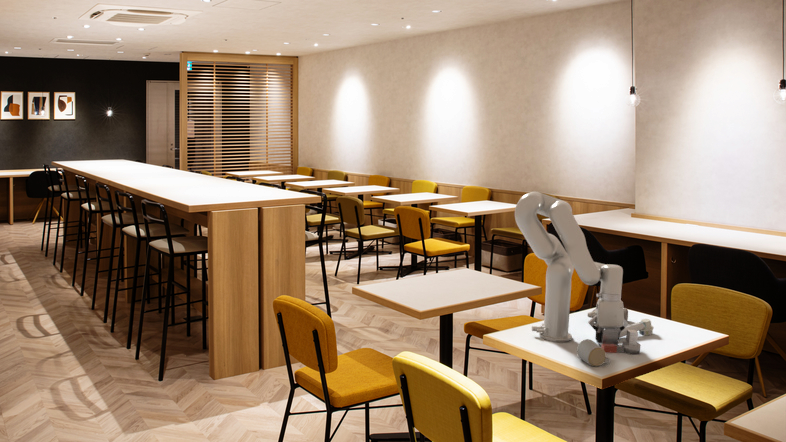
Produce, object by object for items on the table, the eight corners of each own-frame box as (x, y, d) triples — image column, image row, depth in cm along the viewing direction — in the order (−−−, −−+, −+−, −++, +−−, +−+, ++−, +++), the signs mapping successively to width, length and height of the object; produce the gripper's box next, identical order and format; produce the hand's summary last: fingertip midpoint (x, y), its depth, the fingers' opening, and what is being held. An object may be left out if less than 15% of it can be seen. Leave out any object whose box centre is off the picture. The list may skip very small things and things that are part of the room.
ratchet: (605, 354, 223) (607, 333, 222) (599, 348, 229) (600, 327, 228) (642, 354, 223) (644, 333, 222) (635, 348, 229) (637, 328, 228)
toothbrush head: (602, 329, 240) (645, 314, 251) (602, 345, 242) (645, 329, 253) (612, 333, 236) (656, 317, 247) (612, 349, 237) (656, 333, 248)
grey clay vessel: (598, 336, 269) (593, 326, 257) (590, 319, 274) (583, 308, 262) (633, 321, 265) (629, 310, 253) (624, 304, 270) (619, 292, 258)
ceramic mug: (588, 368, 208) (590, 346, 207) (575, 359, 216) (577, 339, 215) (615, 366, 211) (617, 345, 210) (601, 358, 219) (603, 338, 218)
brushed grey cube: (602, 346, 231) (603, 329, 230) (596, 341, 237) (597, 324, 236) (617, 347, 231) (619, 329, 230) (611, 342, 237) (613, 324, 236)
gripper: (591, 298, 228) (588, 344, 230) (636, 299, 228) (633, 345, 230) (584, 293, 235) (581, 338, 237) (628, 294, 235) (625, 339, 238)
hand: (607, 341), depth 234 cm, fingers closed on brushed grey cube, 6 cm apart
